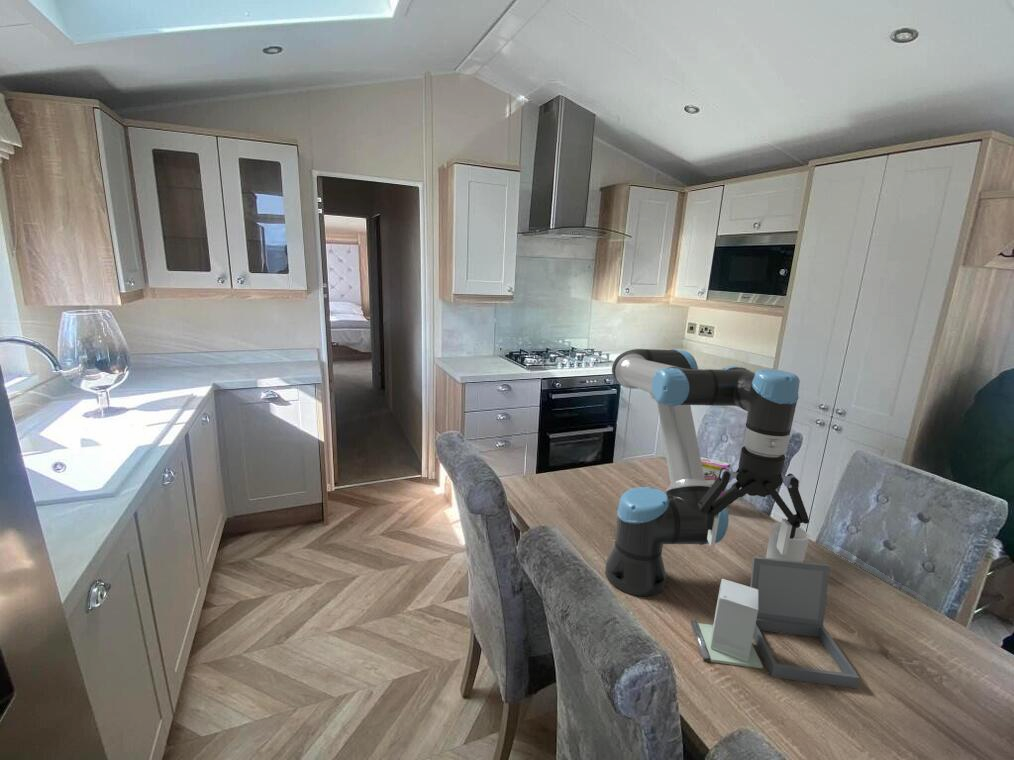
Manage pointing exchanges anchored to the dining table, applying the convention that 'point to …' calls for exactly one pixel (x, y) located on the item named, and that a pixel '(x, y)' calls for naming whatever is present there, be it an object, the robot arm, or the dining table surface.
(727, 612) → the supplement box
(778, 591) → the lid
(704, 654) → the rod
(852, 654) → the dining table surface
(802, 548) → the mug
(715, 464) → the candy bar box
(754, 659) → the mat
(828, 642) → the grey square frame
